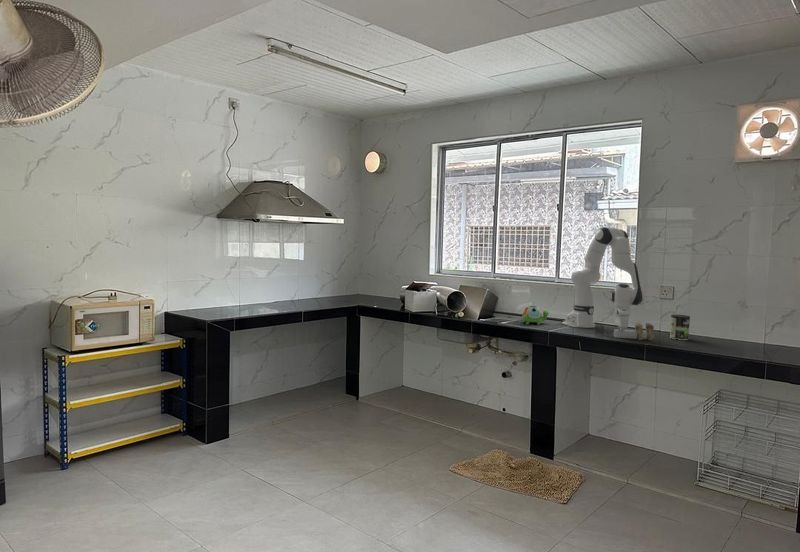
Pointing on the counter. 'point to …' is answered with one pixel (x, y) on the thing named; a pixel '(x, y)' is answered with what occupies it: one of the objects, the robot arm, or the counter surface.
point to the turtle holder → (534, 315)
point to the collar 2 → (649, 331)
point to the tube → (629, 334)
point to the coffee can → (679, 327)
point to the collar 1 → (640, 328)
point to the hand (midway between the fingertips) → (620, 333)
